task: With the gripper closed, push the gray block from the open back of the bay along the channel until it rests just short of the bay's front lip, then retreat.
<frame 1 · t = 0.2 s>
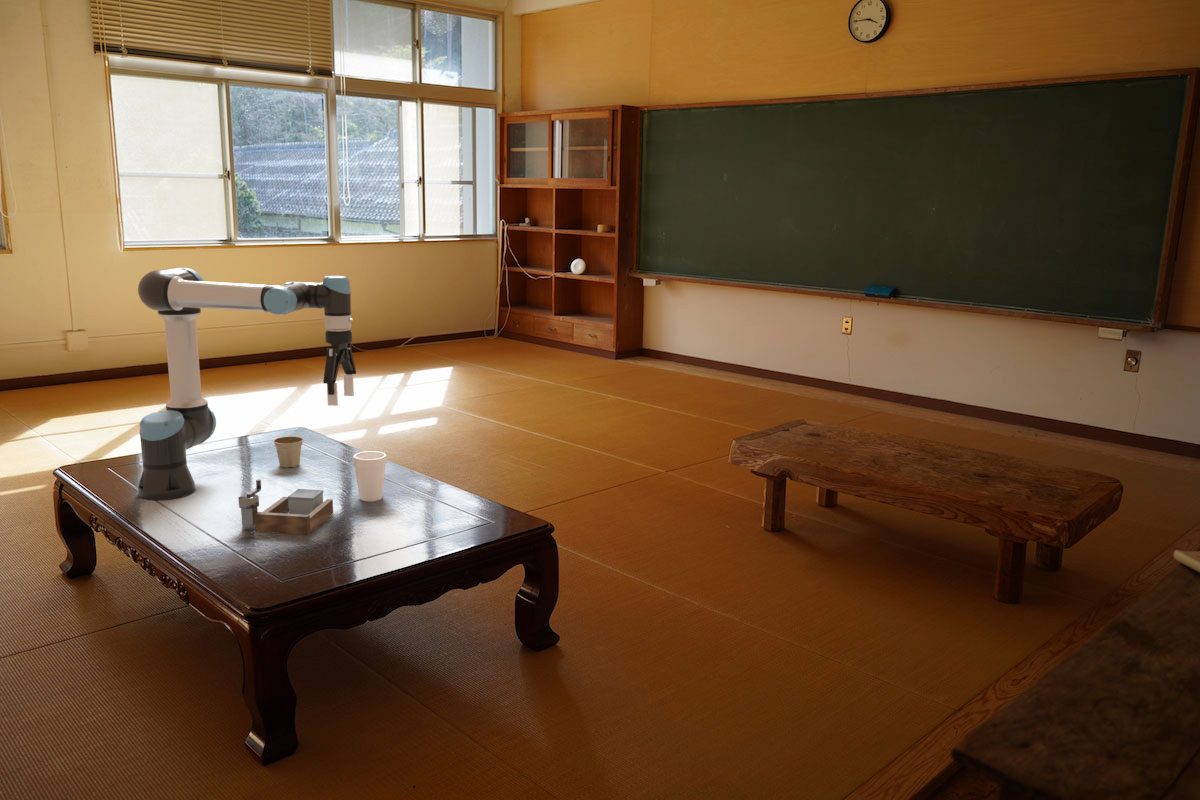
hand: (341, 400, 274), 27 cm above the table, fingers open, 13 cm apart
gray block: (306, 513, 257), on the table
bay: (296, 521, 250), on the table
foam cup: (371, 498, 271), on the table
winch: (250, 527, 245), on the table
flower pot: (289, 465, 302), on the table
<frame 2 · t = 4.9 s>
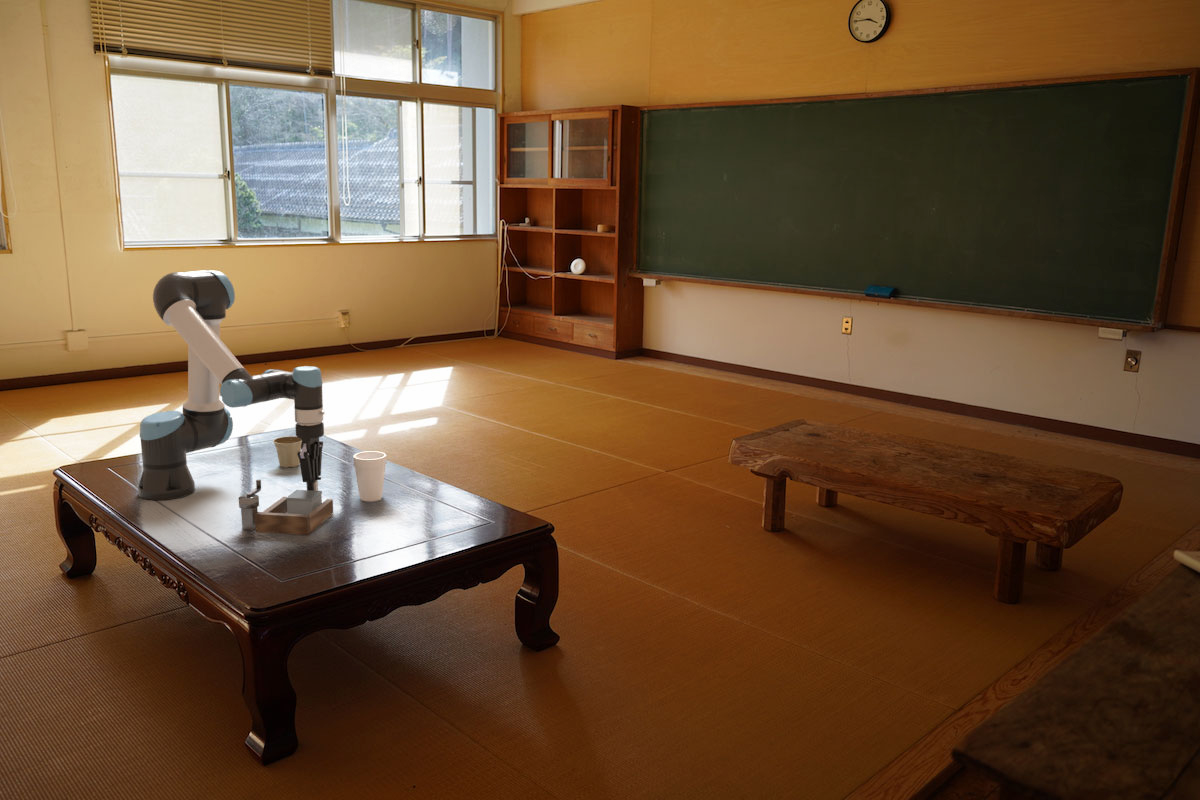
hand: (313, 503, 261), 1 cm above the table, fingers closed
gray block: (305, 514, 256), on the table, touching gripper
everything else where it was.
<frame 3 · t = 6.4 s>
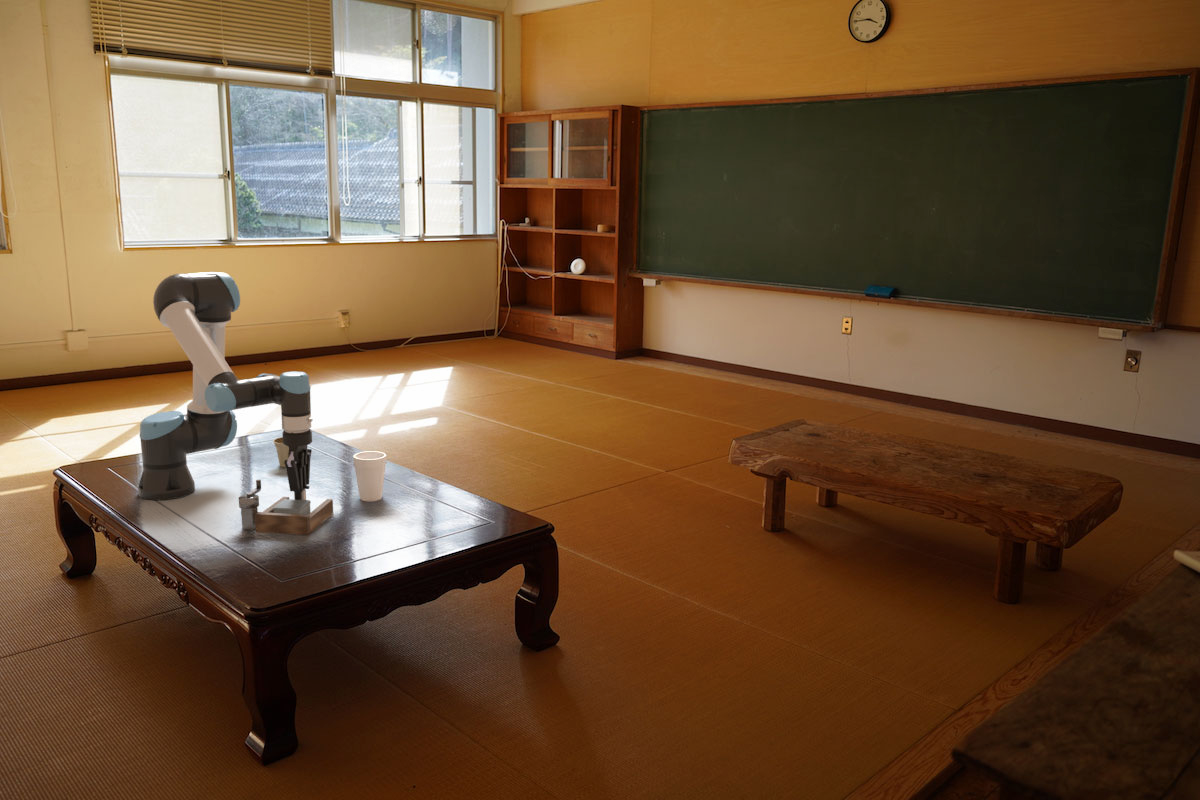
hand: (300, 512, 253), 1 cm above the table, fingers closed
gray block: (293, 525, 247), on the table, touching gripper
everything else where it was.
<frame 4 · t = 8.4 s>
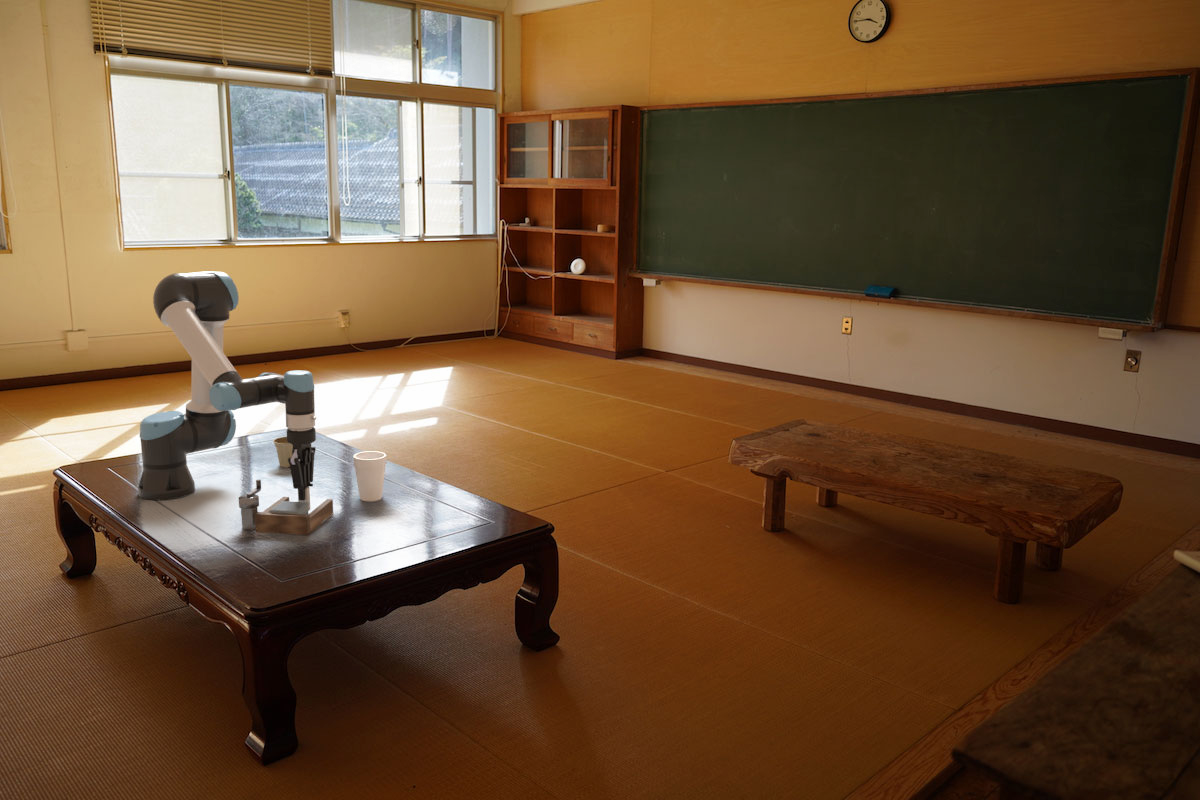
hand: (304, 510, 256), 1 cm above the table, fingers closed
gray block: (290, 527, 246), on the table
everything else where it was.
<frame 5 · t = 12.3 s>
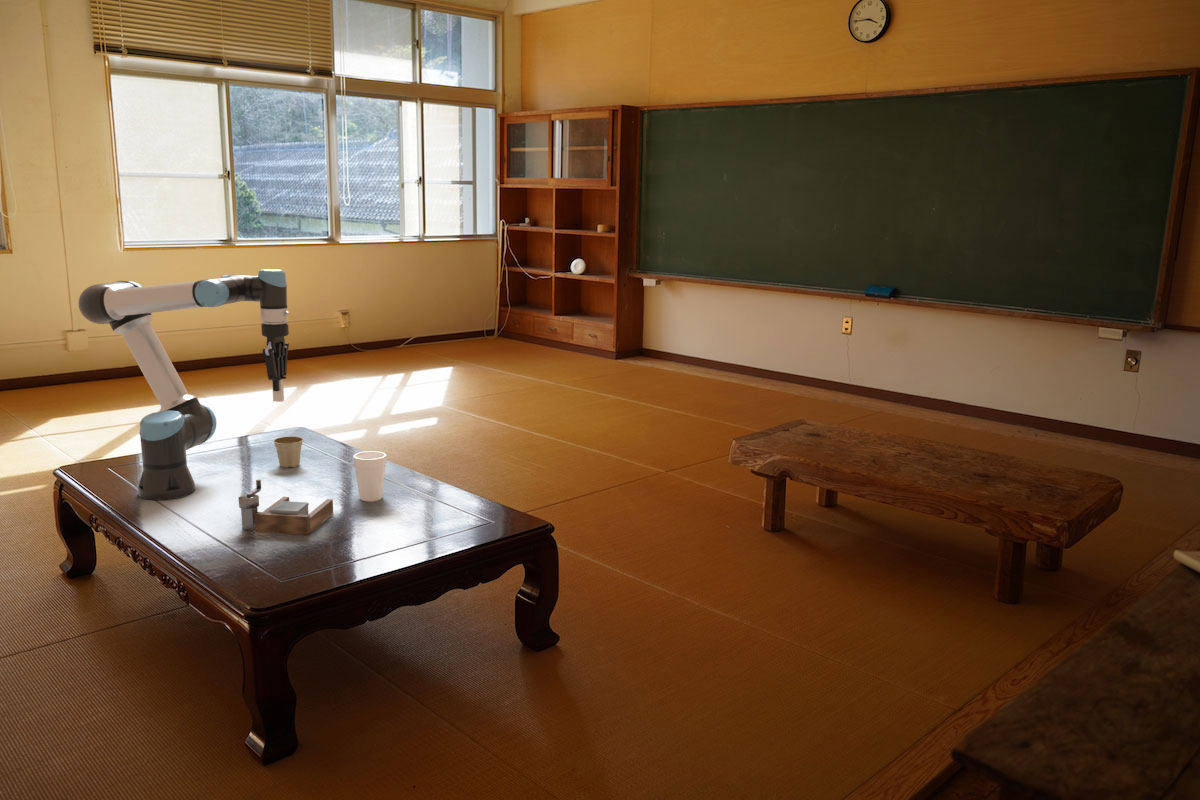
hand: (278, 400, 275), 26 cm above the table, fingers closed
nothing on the table moved.
at the end: gray block inside the target area (0.8 cm from its centre), on the table; gray block tilted 0°; gray block moved 11.0 cm from its start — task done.
